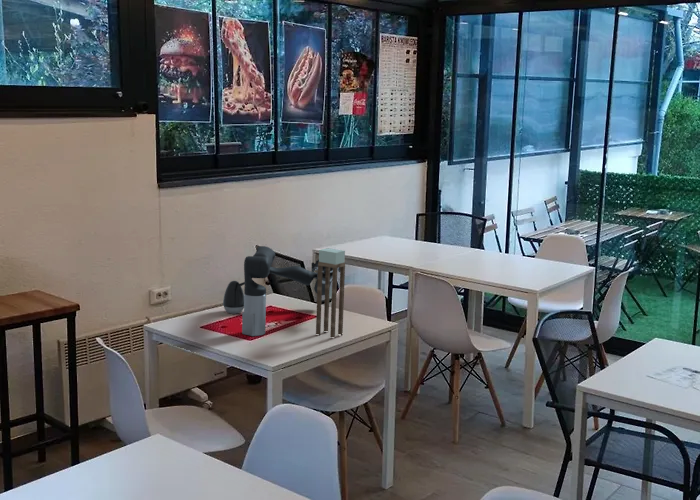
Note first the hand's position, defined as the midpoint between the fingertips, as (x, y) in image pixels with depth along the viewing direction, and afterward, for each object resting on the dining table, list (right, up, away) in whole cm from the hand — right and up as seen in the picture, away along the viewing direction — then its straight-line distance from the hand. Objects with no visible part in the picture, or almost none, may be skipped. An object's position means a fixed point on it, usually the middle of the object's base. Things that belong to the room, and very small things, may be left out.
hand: (328, 262), depth 350 cm
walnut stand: (+1, -31, -13) cm, 34 cm away
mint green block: (+2, +1, -13) cm, 13 cm away
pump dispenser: (-45, -24, +19) cm, 54 cm away
